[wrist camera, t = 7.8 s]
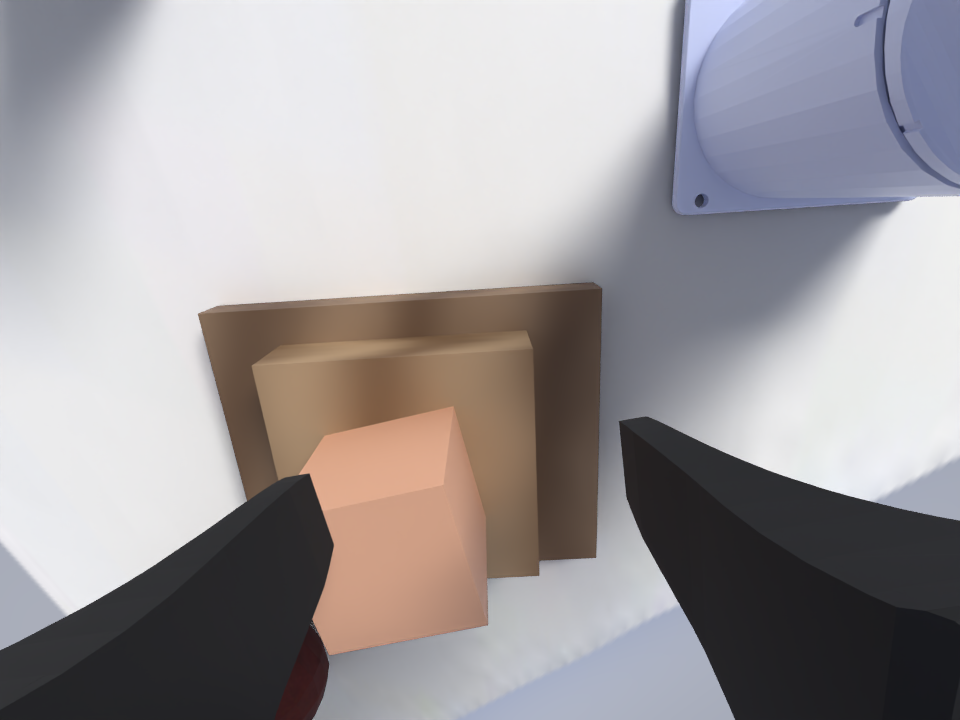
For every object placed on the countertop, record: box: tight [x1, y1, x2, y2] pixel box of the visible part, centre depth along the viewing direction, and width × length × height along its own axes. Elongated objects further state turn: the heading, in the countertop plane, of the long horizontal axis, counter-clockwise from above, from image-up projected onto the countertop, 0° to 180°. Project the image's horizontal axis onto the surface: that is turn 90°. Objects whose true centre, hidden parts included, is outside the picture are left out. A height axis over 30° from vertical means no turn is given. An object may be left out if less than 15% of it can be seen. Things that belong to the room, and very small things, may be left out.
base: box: [198, 282, 602, 578], centre depth 20 cm, size 16×13×4 cm
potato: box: [275, 626, 329, 720], centre depth 22 cm, size 7×8×7 cm
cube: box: [299, 406, 488, 655], centre depth 16 cm, size 5×5×5 cm
